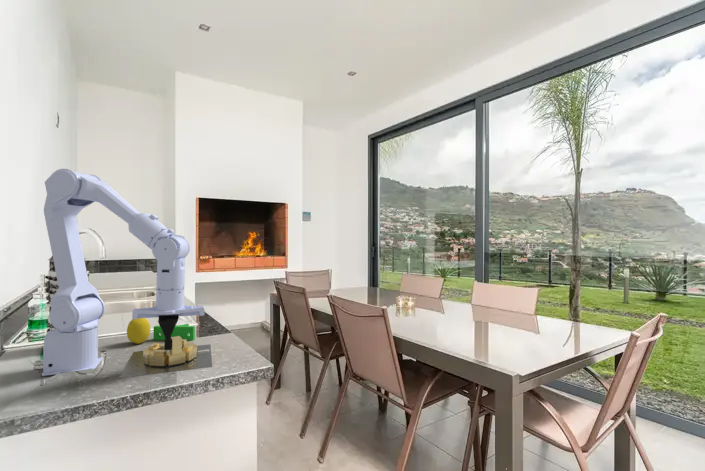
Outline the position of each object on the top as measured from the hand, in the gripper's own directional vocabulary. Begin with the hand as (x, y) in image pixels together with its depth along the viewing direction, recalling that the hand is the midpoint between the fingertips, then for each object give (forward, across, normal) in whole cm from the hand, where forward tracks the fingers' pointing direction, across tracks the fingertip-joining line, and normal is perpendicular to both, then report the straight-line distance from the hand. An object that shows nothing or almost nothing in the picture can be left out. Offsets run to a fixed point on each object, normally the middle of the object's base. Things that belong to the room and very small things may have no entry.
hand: (168, 348), depth 84 cm
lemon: (+5, -9, +21) cm, 24 cm away
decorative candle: (+5, -26, +26) cm, 37 cm away
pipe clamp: (+5, +1, +23) cm, 23 cm away
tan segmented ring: (+4, 0, +4) cm, 6 cm away
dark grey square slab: (+4, 0, +4) cm, 6 cm away
